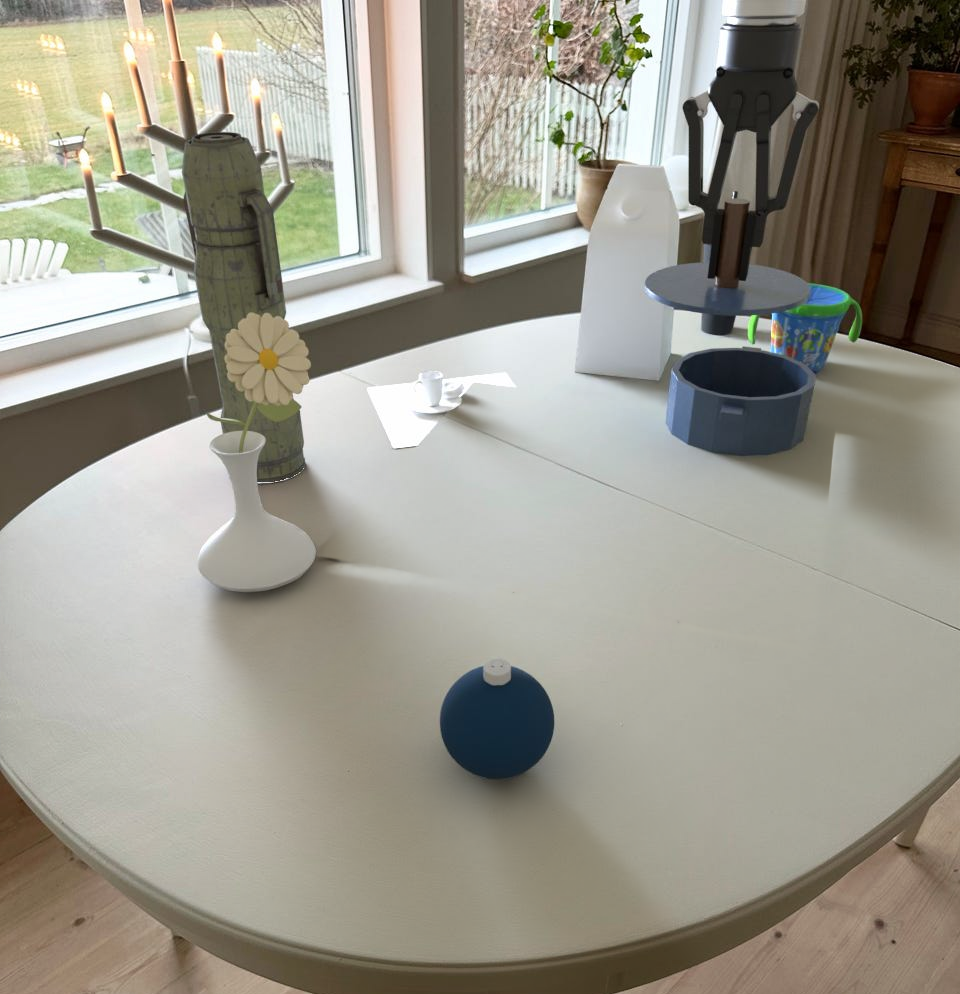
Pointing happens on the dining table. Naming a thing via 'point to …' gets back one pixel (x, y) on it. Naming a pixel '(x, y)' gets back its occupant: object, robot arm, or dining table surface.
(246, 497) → the flower in vase
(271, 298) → the thermos
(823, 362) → the snack cup
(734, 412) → the pot
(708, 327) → the drinking cup
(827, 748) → the dining table surface
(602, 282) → the milk
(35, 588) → the dining table surface
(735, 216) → the lid
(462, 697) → the christmas ornament
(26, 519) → the dining table surface
